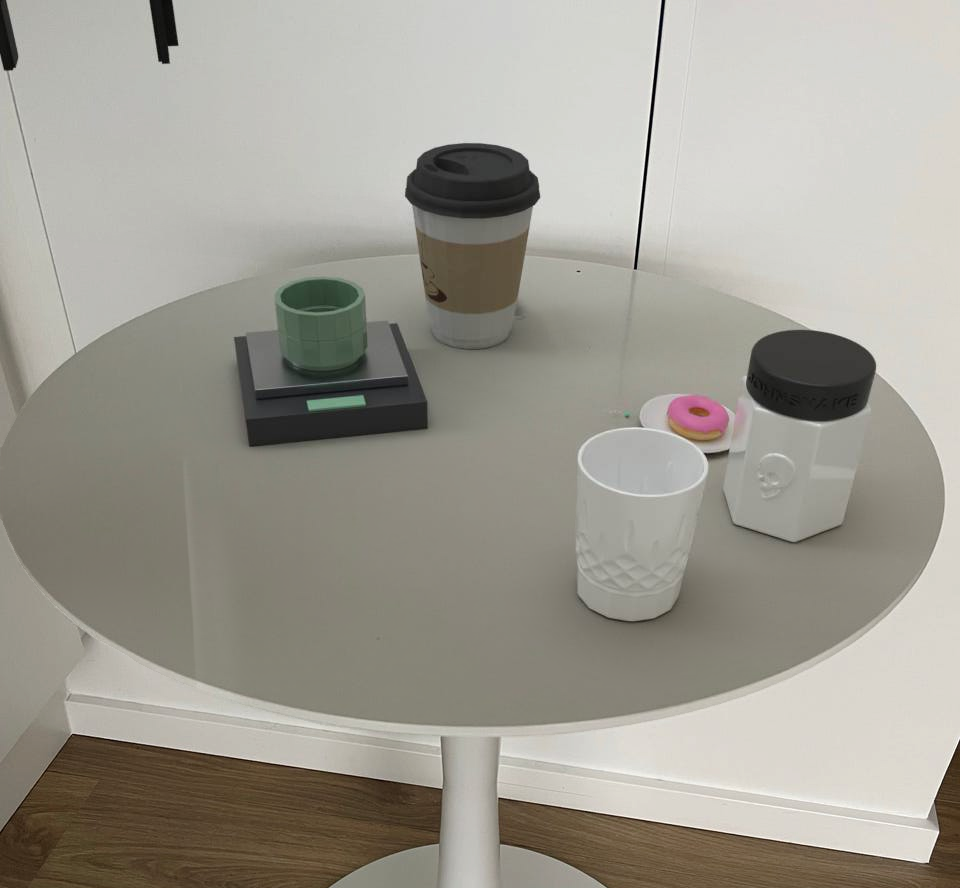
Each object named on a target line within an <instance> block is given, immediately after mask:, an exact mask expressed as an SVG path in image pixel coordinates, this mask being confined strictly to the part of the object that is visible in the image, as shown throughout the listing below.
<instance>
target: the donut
mask: <svg viewBox="0 0 960 888" xmlns="http://www.w3.org/2000/svg"><path fill="white" fill-rule="evenodd" d="M604 413H605V414H606V413H607V410H605V411H604ZM608 414H611V415H613V414H614V415H615V416H616V415H617V410H614V411H610V410H609V411H608ZM620 415H621V410H620V411H618V416H620ZM624 416H625V417H626V418H629V416H630V413H629V412H625V414H624ZM735 416H736V413H734V412H733V411H732V410H731V409H729V408H728V407H726V406H724V405H723V404H721V403H719V402H718V401H716V400H714V399H711V398H709V397H706V396H703V395H699V394H686V393H670V394H663V395H658V396H656V397H653V398H650V399H649V400H647V401H646V402H645V403H644V404H643V405H642V406H641V409H640V410H639V421H640V423H641V425H642V428H651V429H657V430H662V431H666V432H670V433H673V434H676V435H678V436H681V437H683V438H685V439H687V440H688V441H690V442H692V443H693V444H695V445H696V446H697V447H698V448H699V449H700V450H701V451H702V452H703V453H704V454H711V453H712V454H713V453H721V452H724V451H728V450H730V445H731V439H732V433H733V428H734V422H735Z"/></svg>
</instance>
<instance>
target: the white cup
mask: <svg viewBox="0 0 960 888" xmlns="http://www.w3.org/2000/svg"><path fill="white" fill-rule="evenodd" d="M576 460H577V463H576V464H577V465H576V466H577V467H576V500H575V534H574V535H575V556H576V591H577V595H578V597H579V598H580V599H581V600H582V602H583V603H584V604H585V605H586V606H587V608H588V609H590V610H591V611H594V612H595V613H598V614H600V615H602V616H604V617H606V618H608V619H614V620H620V621H625V622H637V621H645V620H646V621H647V620H654V619H656V618H658V617H659V616H661V615H663V614H665V613H667V612H669V611H670V610H672V608H673V606H674V605H675V603H676V602H677V600H678V598H679V597H680V592H681V589H682V582H683V578H684V572H685V571H686V567H687V564H688V562H689V561H688V560H689V557H690V553H691V548H692V544H693V541H694V537H695V533H696V528H697V524H698V519H699V514H700V510H701V505H702V500H703V495H704V492H705V487H706V481H707V478H708V473H709V462H708V459H707V456H706V455H705V453H703V452H702V451H701V450H700V449H699V448H698V447H697V446H696V445H695V444H693V443H692V442H690V441H688V440H687V439H685V438H683V437H681V436H678V435H676V434H673V433H670V432H666V431H662V430H657V429H651V428H644V427H640V426H639V427H637V426H636V427H635V426H632V427H630V426H629V427H620V428H612V429H608V430H606V431H602V432H600V433H597V434H595V435H593V436H591V437H590V438H589V439H587V440H586V441H585V442H584V443H583V444H582V445H581V446H580V448H579V450H578V452H577V459H576Z"/></svg>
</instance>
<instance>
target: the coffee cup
mask: <svg viewBox="0 0 960 888" xmlns="http://www.w3.org/2000/svg"><path fill="white" fill-rule="evenodd" d="M415 167H416V168H415V169H413V170H412V171H411V172H410V173H409V174H408V175H407V177H406V183H405V184H406V185H405V189H404V197H405V199H406V200H407V201H408V202H409V203H410V204H411V208H412V214H413V219H414V220H413V222H414V228H415V234H416V240H417V248H418V255H419V262H420V268H421V275H422V282H423V289H424V296H425V302H426V310H427V317H428V324H429V326H430V327H431V331H432V335H433V336H434V338H435V339H436V340H437V341H438V342H440V343H442V344H443V345H446V346H449V347H452V348H456V349H462V348H463V350H480V349H488V348H492V347H495V346H498V345H500V344H502V343H503V342H505V341H506V340H507V339H508V338H509V336H510V334H511V329H512V327H513V326H514V323H515V317H516V309H517V304H518V299H519V292H520V286H521V280H522V274H523V270H524V269H523V268H524V263H525V256H526V251H527V246H528V245H527V244H528V237H529V232H530V227H531V220H532V215H533V209H534V206H536V204H537V203H538V202H539V200H540V199H541V192H540V183H539V177H538V176H537V175H536V174H535V173H534V172H532V171H531V169H530V162H529V159H528V158H527V157H526V156H524V154H522V152H519V151H517V150H515V149H513V148H510V147H507V146H506V147H505V146H503V145H498V144H491V143H483V142H462V143H461V142H460V143H449V144H444V145H440V146H436V147H433V148H431V149H428V150H427V151H424V152H423V153H422V154H421V155H420V156H419V157H418V158H417V159H416V166H415Z"/></svg>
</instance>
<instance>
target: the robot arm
mask: <svg viewBox="0 0 960 888" xmlns="http://www.w3.org/2000/svg"><path fill="white" fill-rule="evenodd" d="M148 1H149V2H148V3H149V8H150V15H151V21H152V28H153V36H154V40H155V41H154V42H155V49H156V54H157V62H158V63H161V64H162V65H170V64H171V60H170V51H169V50H170V49H169V47H179V45H180V44H179V39H178V30H177V24H176V16H175V9H174V1H173V0H148ZM9 10H10V9H9V5H8V2H7V0H0V60H1V64H2V68H3V71H5V72H7V71H8V72H9V71H10V72H11V71H14V69H16V68H17V65H18V61H19V52H18V47H17V42H16V38H15V34H14V29H13V25H12V20H11V19H12V18H11V14H10V11H9Z"/></svg>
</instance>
